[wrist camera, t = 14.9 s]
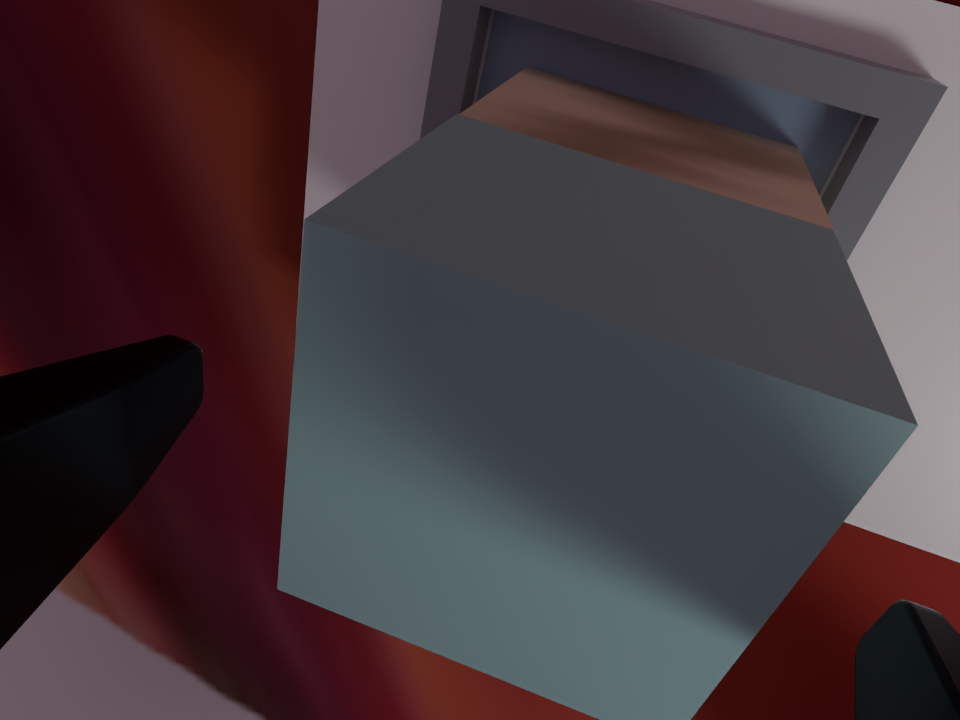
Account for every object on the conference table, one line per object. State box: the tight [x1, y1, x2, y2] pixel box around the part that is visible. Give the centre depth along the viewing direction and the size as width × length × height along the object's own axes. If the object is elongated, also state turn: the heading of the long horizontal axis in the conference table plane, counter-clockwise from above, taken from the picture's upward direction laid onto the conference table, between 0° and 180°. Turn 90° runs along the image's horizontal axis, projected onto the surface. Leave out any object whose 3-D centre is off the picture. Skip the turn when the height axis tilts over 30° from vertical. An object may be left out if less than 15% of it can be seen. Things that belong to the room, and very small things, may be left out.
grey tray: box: [296, 0, 960, 563], centre depth 16 cm, size 20×12×3 cm, turn 78°
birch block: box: [460, 67, 834, 230], centre depth 14 cm, size 6×6×5 cm
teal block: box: [277, 114, 918, 720], centre depth 10 cm, size 6×6×5 cm
